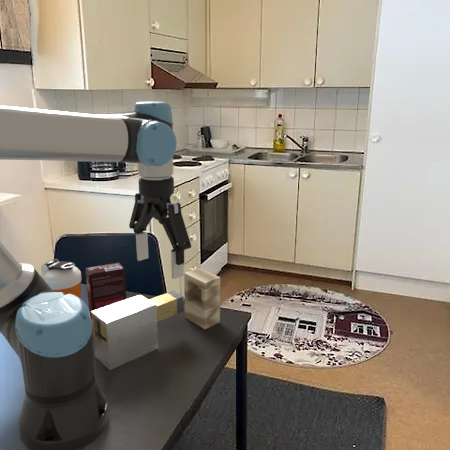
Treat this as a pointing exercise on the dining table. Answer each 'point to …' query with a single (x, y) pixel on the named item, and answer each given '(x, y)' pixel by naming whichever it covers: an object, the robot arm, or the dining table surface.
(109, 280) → the supplement box
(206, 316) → the socket
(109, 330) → the sleeve
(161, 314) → the yellow square bar
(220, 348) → the dining table surface
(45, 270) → the shaker bottle
